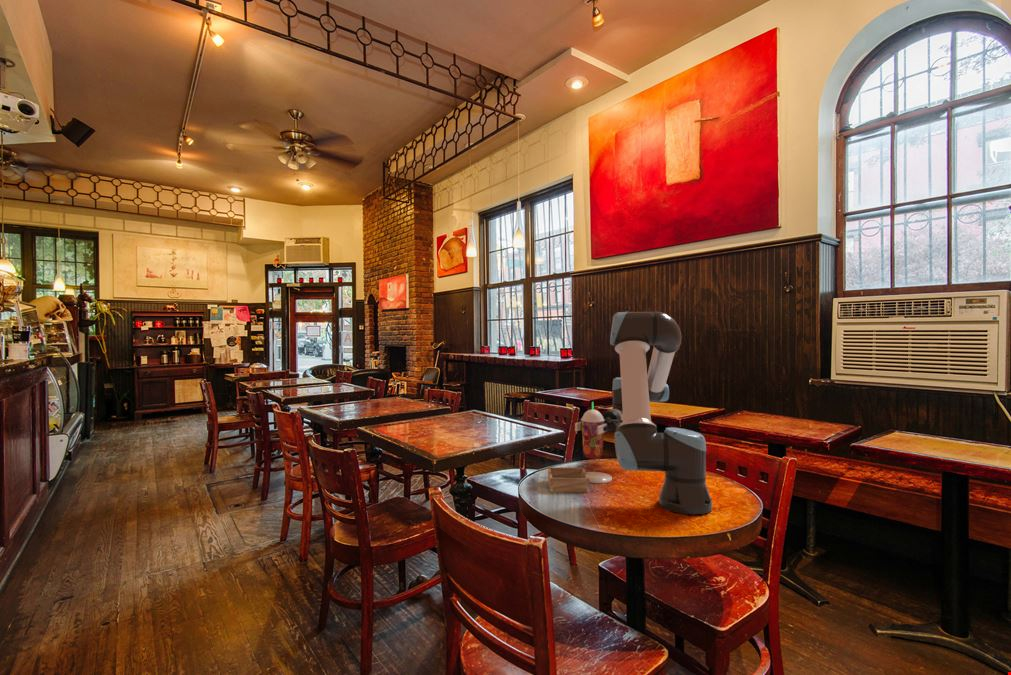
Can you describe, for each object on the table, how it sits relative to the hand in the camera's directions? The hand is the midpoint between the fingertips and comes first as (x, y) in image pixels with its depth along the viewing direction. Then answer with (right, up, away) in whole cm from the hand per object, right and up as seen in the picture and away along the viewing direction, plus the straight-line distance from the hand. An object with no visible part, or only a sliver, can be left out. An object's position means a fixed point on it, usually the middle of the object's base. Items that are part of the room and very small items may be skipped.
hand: (587, 428), depth 165 cm
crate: (-7, -19, -4) cm, 21 cm away
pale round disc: (+4, -19, +5) cm, 20 cm away
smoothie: (+3, -11, +4) cm, 12 cm away
